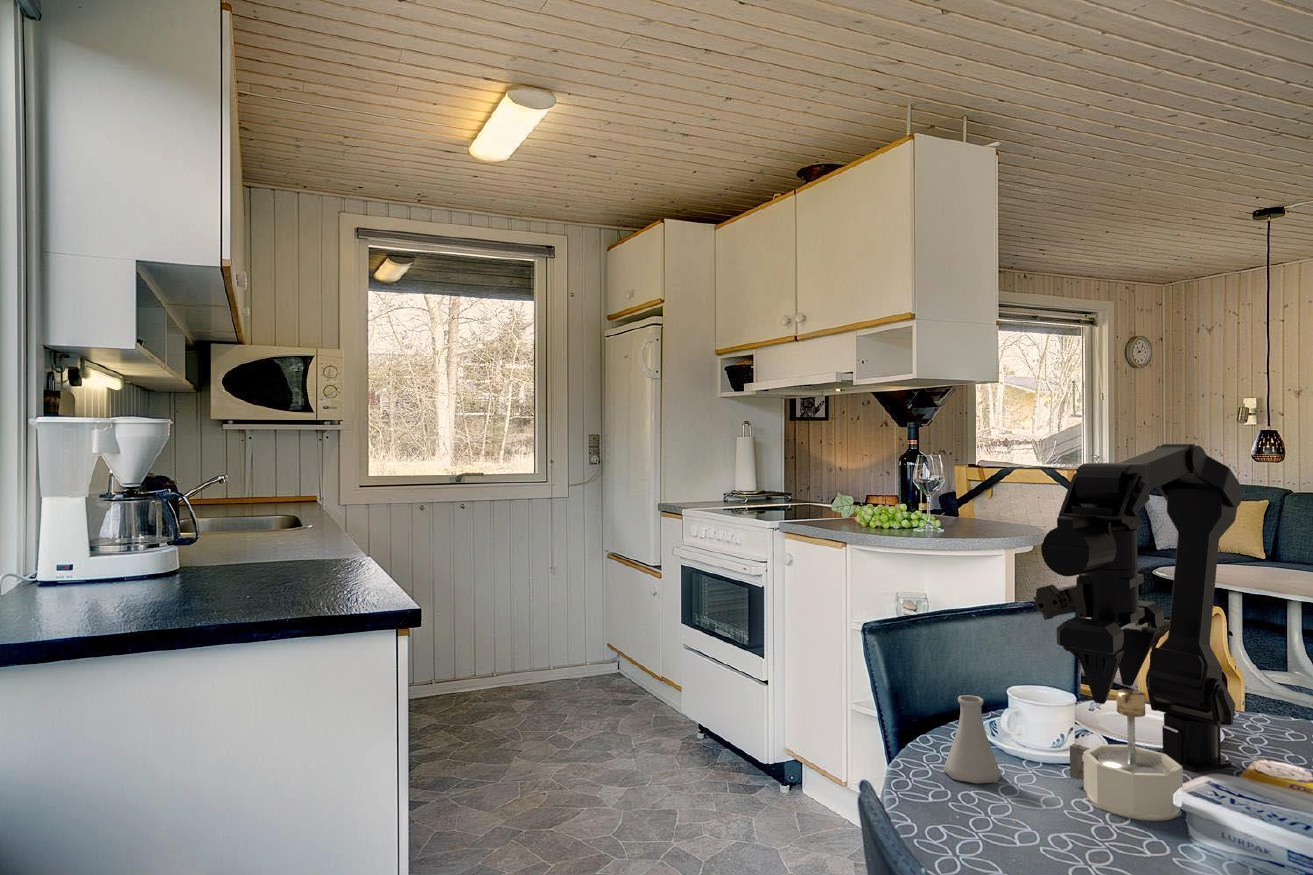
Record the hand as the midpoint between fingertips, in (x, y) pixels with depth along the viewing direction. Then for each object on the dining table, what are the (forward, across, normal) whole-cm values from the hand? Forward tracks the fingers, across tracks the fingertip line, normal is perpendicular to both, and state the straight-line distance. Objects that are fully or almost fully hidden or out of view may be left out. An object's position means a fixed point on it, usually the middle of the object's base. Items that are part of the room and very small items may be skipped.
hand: (1114, 693), depth 101 cm
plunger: (+9, 0, +2) cm, 9 cm away
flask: (+13, +5, -16) cm, 21 cm away
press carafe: (+13, 0, +1) cm, 13 cm away
